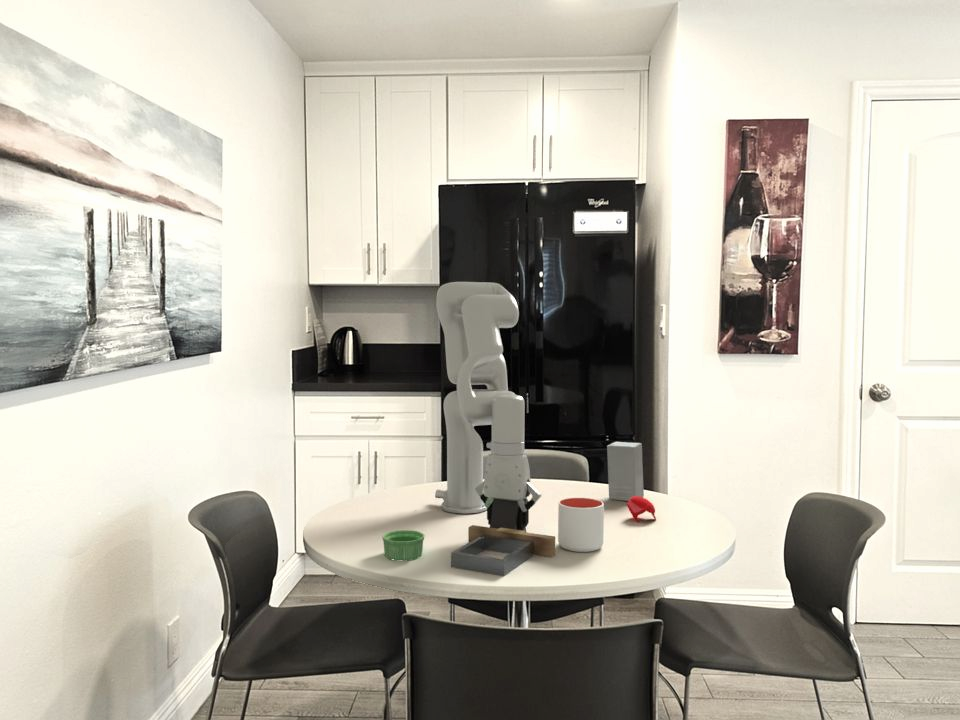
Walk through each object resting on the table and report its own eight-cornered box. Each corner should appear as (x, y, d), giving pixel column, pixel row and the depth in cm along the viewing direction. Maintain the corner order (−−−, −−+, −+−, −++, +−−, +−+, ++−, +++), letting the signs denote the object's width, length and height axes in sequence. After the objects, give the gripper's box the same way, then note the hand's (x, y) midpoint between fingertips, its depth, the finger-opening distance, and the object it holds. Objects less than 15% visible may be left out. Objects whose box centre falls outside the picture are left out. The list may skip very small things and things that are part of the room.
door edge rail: (468, 544, 177) (468, 525, 177) (472, 542, 179) (472, 523, 179) (551, 557, 169) (551, 537, 168) (555, 554, 170) (555, 534, 170)
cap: (627, 511, 195) (648, 499, 195) (621, 497, 201) (642, 486, 200) (641, 533, 198) (662, 521, 198) (635, 519, 204) (655, 508, 203)
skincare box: (644, 498, 222) (644, 442, 222) (634, 503, 216) (635, 446, 216) (615, 494, 227) (616, 440, 226) (605, 499, 221) (606, 443, 220)
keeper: (451, 567, 162) (451, 552, 162) (483, 547, 175) (483, 534, 175) (504, 575, 157) (504, 561, 156) (533, 555, 170) (533, 541, 170)
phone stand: (511, 546, 177) (512, 493, 176) (487, 542, 179) (487, 490, 178) (526, 536, 185) (527, 485, 184) (503, 532, 187) (503, 482, 187)
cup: (592, 556, 169) (592, 510, 169) (550, 549, 175) (550, 504, 174) (610, 545, 178) (610, 501, 177) (570, 538, 183) (570, 495, 182)
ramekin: (389, 564, 164) (389, 543, 164) (377, 552, 172) (377, 532, 172) (430, 559, 168) (430, 538, 167) (416, 547, 176) (416, 528, 176)
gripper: (466, 448, 181) (466, 524, 182) (536, 454, 173) (536, 534, 175) (481, 443, 188) (481, 517, 189) (549, 449, 180) (548, 526, 181)
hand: (507, 524), depth 182 cm, fingers open, 7 cm apart
